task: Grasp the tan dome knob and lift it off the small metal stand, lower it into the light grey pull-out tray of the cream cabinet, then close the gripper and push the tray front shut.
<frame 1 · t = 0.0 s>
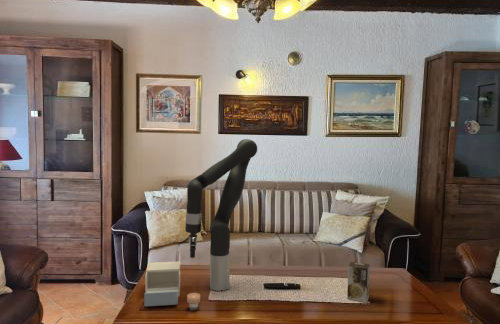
hand: (192, 254, 188), 17 cm above the table, tool pointing down, fingers open, 8 cm apart
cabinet: (163, 290, 187), on the table
tray: (162, 292, 175), point 4 cm above the table, slide at 11.0 cm
tan dome knob: (193, 300, 168), point 3 cm above the table, touching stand
coffee box: (357, 298, 181), on the table
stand: (193, 308, 169), on the table
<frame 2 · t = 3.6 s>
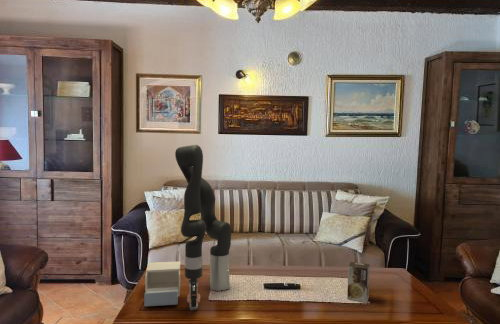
hand: (193, 303, 168), 2 cm above the table, tool pointing down, fingers closed on tan dome knob, 5 cm apart
tan dome knob: (193, 300, 168), point 3 cm above the table, touching gripper, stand
everything else where it was.
when the fingers open (3 cm above the table, at t = 9.7 s): tan dome knob drops 2 cm, resting on tray.
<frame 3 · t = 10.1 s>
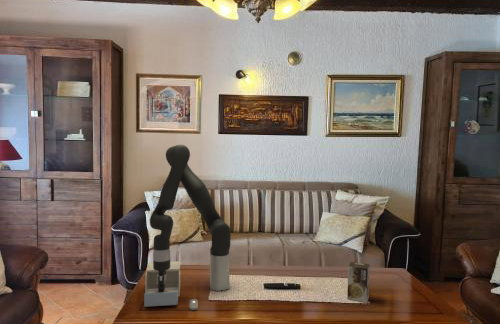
hand: (162, 293, 175), 4 cm above the table, tool pointing down, fingers open, 8 cm apart
tray: (162, 292, 175), point 4 cm above the table, slide at 11.3 cm, touching tan dome knob, gripper
tan dome knob: (161, 297, 175), point 2 cm above the table, touching tray
everything else where it was.
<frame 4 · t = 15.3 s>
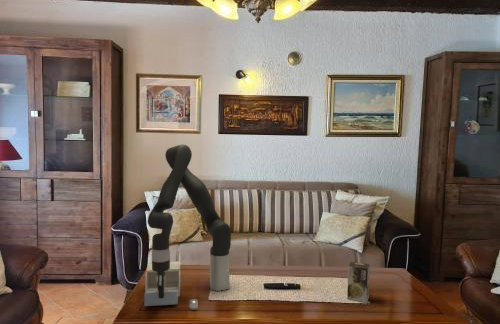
hand: (161, 297, 167), 5 cm above the table, tool pointing down, fingers closed
tray: (162, 292, 175), point 4 cm above the table, slide at 10.8 cm, touching tan dome knob, gripper
everything else where it was.
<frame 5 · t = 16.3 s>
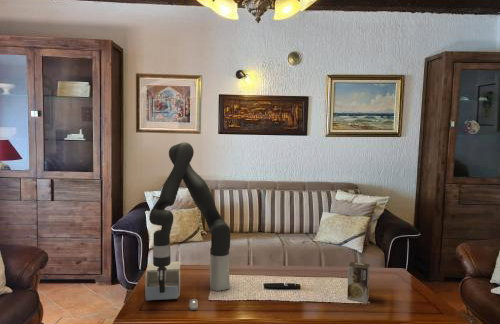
hand: (162, 292, 172), 5 cm above the table, tool pointing down, fingers closed
tray: (162, 286, 181), point 4 cm above the table, slide at 5.1 cm, touching tan dome knob, gripper
tan dome knob: (162, 291, 181), point 2 cm above the table, touching tray
everything else where it was.
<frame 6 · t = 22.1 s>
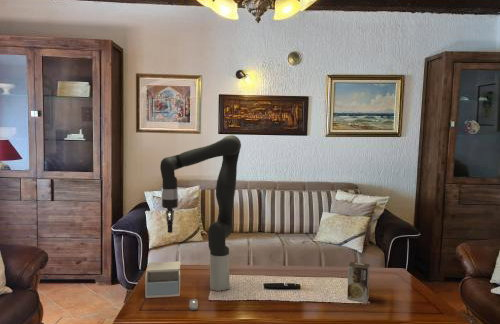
hand: (170, 232, 191), 27 cm above the table, tool pointing down, fingers closed
tray: (163, 282, 186), point 4 cm above the table, slide at 0.0 cm, touching tan dome knob
tan dome knob: (163, 287, 186), point 2 cm above the table, touching tray
everything else where it was.
at the end: tray slide at 0.0 cm; tan dome knob inside the target area on the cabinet (0.5 cm from its centre), point 2.0 cm above the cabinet's base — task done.
